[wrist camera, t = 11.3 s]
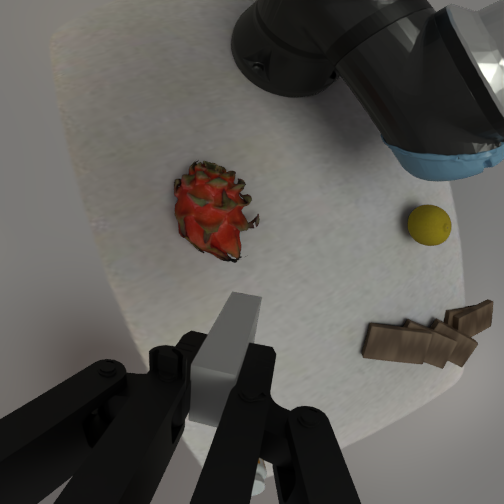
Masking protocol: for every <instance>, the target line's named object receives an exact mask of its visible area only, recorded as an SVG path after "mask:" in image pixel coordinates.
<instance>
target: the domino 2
mask: <svg viewBox="0 0 504 504" xmlns="http://www.w3.org/2000/svg"><path fill="white" fill-rule="evenodd" d="M403 327H405V328H413V329H421V330H429V331H430V332H431V333H432V338H431V341H430V344H429V347H428V350H427V353H426V356H425V359H424V362H426V363H428V364H431V365H434V366H436V367H439V368H442V369H443V367H444V366H445V364H446V362H447V361H448V359H449V357H450V355H451V354H452V352H453V350H454V348H455V346H456V345H457V343H458V342H457V341H456V340H455V339H454V338H452V337H449V336H447V335H445V334H442V333H440V332H437V331H435V330H433V329H430V328H428V327H425V326H423V325H421V324H418V323H416V322H414V321H411V320H409V319H407V321H406V323H405V324H404V326H403Z"/></svg>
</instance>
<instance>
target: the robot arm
mask: <svg viewBox="0 0 504 504" xmlns="http://www.w3.org/2000/svg"><path fill="white" fill-rule="evenodd" d="M231 46H232V53H233V57H234V59H235V62H236V64H237V65H238V67H239V69H240V70H241V71H242V73H243V74H244V75H245V76H246V77H247V78H248V79H249V80H250V81H252V82H253V83H254V84H256V85H257V86H259V87H260V88H262V89H264V90H266V91H268V92H271V93H274V94H277V95H281V96H286V97H306V96H311V95H314V94H317V93H319V92H321V91H323V90H325V89H326V88H327V87H329V86H330V85H331V84H332V83H333V82H334V81H336V79H337V78H338V77H339V76H341V77H342V78H343V80H344V81H345V82H346V84H347V85H348V86H349V88H350V89H351V90H352V92H353V93H354V95H355V96H356V97H357V99H358V100H359V102H360V103H361V104H362V106H363V107H364V109H365V110H366V112H367V113H368V114H369V116H370V117H371V119H372V120H373V122H374V123H375V125H376V126H377V128H378V129H379V131H380V133H381V138H382V140H383V142H384V143H385V144H386V145H387V146H388V147H389V148H390V149H391V150H392V152H393V153H394V155H395V156H396V158H397V159H398V161H399V162H400V164H401V165H402V167H403V168H404V169H405V170H406V171H408V172H409V173H410V174H411V175H413V176H415V177H417V178H419V179H423V180H427V181H451V180H457V179H463V178H467V177H471V176H474V175H477V174H479V173H481V172H483V170H484V168H486V167H494V166H495V165H497V164H498V163H500V162H501V161H502V160H503V159H504V0H500V1H497V2H495V3H493V4H491V5H489V6H487V7H485V8H483V9H481V10H480V11H473V10H470V9H467V8H463V7H460V6H457V5H454V4H450V5H448V6H446V7H444V8H443V9H441V10H439V11H438V12H436V11H435V10H434V9H433V7H432V6H431V5H430V4H429V2H428V1H427V0H257V1H256V2H255V3H254V4H252V5H251V6H250V7H249V8H248V9H247V10H246V11H245V12H244V13H243V14H242V15H241V16H240V17H239V19H238V21H237V23H236V25H235V27H234V31H233V36H232V43H231ZM261 299H262V297H258V296H253V295H248V294H243V293H237V292H232V293H231V295H230V297H229V298H228V300H227V302H226V304H225V305H224V307H223V309H222V311H221V313H220V314H219V316H218V318H217V320H216V321H215V323H214V325H213V327H212V328H211V330H210V332H209V334H204V333H200V332H195V331H190V332H188V333H186V334H185V335H183V336H182V338H181V339H180V340H179V343H177V345H176V346H168V345H164V346H157V347H154V348H152V349H151V350H150V351H149V366H150V370H149V372H148V373H147V374H135V373H126V369H125V367H124V365H123V364H122V363H120V362H118V361H116V360H110V359H105V360H99V361H97V362H95V363H93V364H91V365H90V366H88V367H86V368H85V369H84V370H82V371H80V372H78V373H77V374H75V375H73V376H72V377H70V378H68V379H67V380H65V381H64V382H62V383H60V384H58V385H57V386H55V387H53V388H52V389H50V390H48V391H47V392H45V393H43V394H42V395H40V396H38V397H37V398H35V399H34V400H32V401H30V402H28V403H27V404H25V405H23V406H22V407H20V408H18V409H17V410H15V411H13V412H12V413H10V414H8V415H7V416H5V417H3V418H2V419H0V504H38V503H39V502H40V501H41V500H43V499H44V498H45V497H46V496H48V495H49V494H50V493H52V492H53V491H54V490H55V489H57V488H58V487H59V486H61V485H62V484H63V483H64V482H66V481H67V480H68V479H69V478H71V477H72V476H73V477H72V478H71V479H70V481H69V482H68V484H67V485H66V487H65V488H64V489H63V491H62V492H61V494H60V495H59V497H58V498H57V499H56V501H55V502H54V504H150V502H151V500H152V498H153V496H154V494H155V491H156V489H157V487H158V485H159V483H160V481H161V479H162V477H163V474H164V472H165V470H166V468H167V466H168V464H169V462H170V459H171V457H172V455H173V453H174V451H175V449H176V446H177V444H178V442H179V440H180V438H181V436H182V434H183V431H184V428H185V419H186V417H187V414H188V412H189V420H190V421H194V422H197V423H201V424H205V425H209V426H213V427H217V430H216V433H215V436H214V438H213V441H212V444H211V447H210V450H209V452H208V455H207V458H206V461H205V463H204V466H203V469H202V472H201V474H200V477H199V480H198V482H197V485H196V488H195V491H194V493H193V496H192V499H191V501H190V504H250V499H251V495H252V490H253V485H254V480H255V475H256V470H257V465H258V460H259V458H261V459H263V460H265V461H267V462H269V463H272V464H273V472H274V478H275V483H276V489H277V494H278V500H279V504H361V502H360V499H359V497H358V494H357V491H356V489H355V486H354V484H353V481H352V478H351V476H350V473H349V471H348V468H347V465H346V463H345V460H344V458H343V455H342V452H341V450H340V447H339V445H338V442H337V439H336V437H335V434H334V432H333V429H332V427H331V424H330V422H329V419H328V417H327V416H326V414H325V413H323V412H322V411H321V410H319V409H317V408H314V407H310V406H301V407H296V408H295V409H293V410H291V411H290V410H287V409H285V408H283V407H281V406H279V405H278V404H276V403H275V402H274V401H273V399H272V397H271V395H270V390H271V384H272V378H273V372H274V366H275V359H276V353H275V351H274V349H273V347H270V346H265V345H260V344H254V339H255V334H256V328H257V322H258V316H259V310H260V305H261Z"/></svg>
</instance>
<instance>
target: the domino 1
mask: <svg viewBox="0 0 504 504" xmlns="http://www.w3.org/2000/svg"><path fill="white" fill-rule="evenodd" d="M431 338H432V333H431V332H430V331H429V330H421V329H413V328H405V327H398V326H390V325H383V324H376V323H370V324H369V328H368V332H367V336H366V339H365V343H364V346H363V350H362V356H363V358H368V359H376V360H385V361H394V362H403V363H414V364H423V362H424V359H425V356H426V353H427V350H428V347H429V344H430V341H431Z"/></svg>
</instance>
